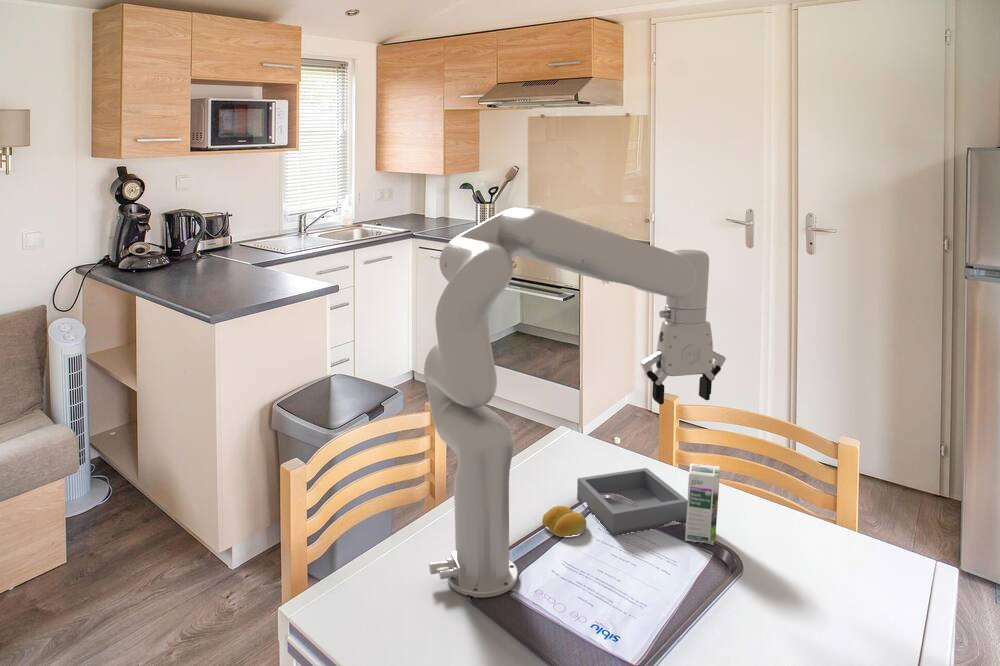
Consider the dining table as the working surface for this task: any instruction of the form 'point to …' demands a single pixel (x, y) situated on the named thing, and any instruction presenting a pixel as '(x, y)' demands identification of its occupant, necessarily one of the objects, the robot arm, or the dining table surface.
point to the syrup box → (702, 503)
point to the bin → (639, 487)
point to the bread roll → (564, 521)
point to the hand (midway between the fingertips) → (681, 400)
